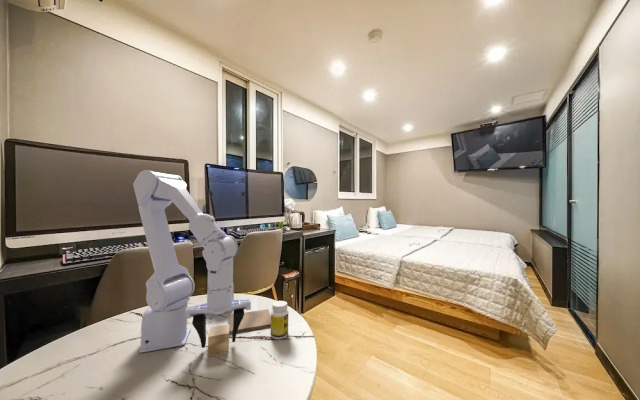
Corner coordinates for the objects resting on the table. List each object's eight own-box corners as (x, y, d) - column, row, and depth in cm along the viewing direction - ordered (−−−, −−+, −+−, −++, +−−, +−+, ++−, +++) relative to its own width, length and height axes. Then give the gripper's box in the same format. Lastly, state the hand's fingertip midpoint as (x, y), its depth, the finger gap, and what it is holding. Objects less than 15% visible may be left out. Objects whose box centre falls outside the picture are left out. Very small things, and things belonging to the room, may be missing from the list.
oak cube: (207, 356, 53) (208, 336, 53) (209, 345, 57) (210, 327, 57) (228, 352, 54) (228, 333, 55) (229, 342, 59) (229, 324, 59)
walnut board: (228, 334, 62) (228, 331, 62) (229, 317, 71) (229, 314, 71) (272, 326, 66) (272, 323, 66) (268, 311, 76) (268, 309, 76)
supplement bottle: (286, 340, 59) (286, 307, 60) (268, 339, 60) (269, 307, 60) (289, 330, 64) (289, 300, 65) (272, 330, 64) (273, 299, 65)
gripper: (183, 296, 50) (181, 359, 50) (251, 288, 55) (250, 345, 55) (189, 285, 57) (187, 341, 56) (250, 279, 62) (249, 330, 61)
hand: (219, 342), depth 56 cm, fingers open, 6 cm apart
